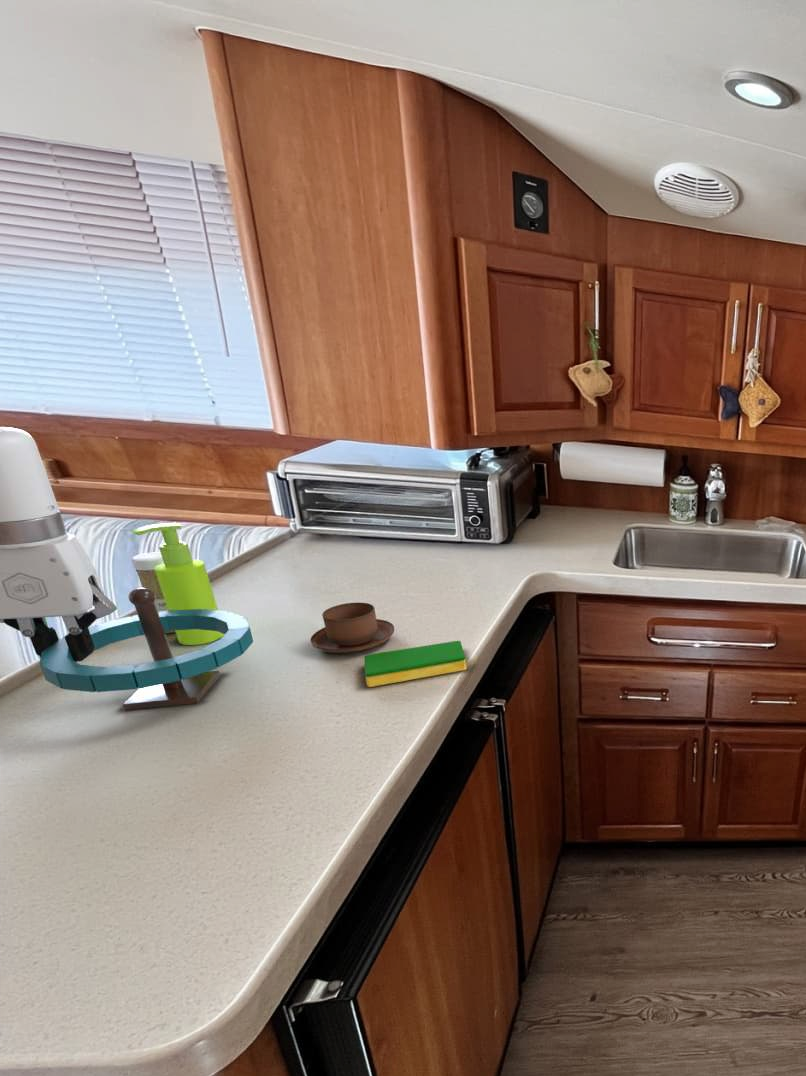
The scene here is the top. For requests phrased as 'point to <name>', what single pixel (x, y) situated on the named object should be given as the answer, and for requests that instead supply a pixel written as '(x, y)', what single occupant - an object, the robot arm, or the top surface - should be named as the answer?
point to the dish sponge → (414, 663)
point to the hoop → (102, 679)
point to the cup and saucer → (351, 629)
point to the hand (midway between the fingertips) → (68, 656)
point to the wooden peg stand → (160, 650)
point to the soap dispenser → (183, 581)
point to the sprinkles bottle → (151, 577)
